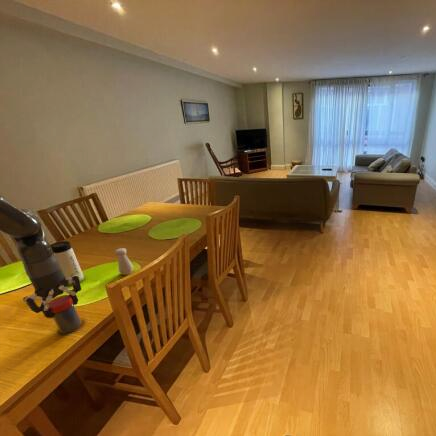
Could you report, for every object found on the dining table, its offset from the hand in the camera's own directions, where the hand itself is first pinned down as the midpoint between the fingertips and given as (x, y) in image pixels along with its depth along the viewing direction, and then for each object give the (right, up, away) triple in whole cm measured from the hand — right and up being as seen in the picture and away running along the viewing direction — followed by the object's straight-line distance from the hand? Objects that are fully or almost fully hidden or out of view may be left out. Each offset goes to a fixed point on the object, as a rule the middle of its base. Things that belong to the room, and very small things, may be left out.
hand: (63, 310), depth 83 cm
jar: (0, -7, +3) cm, 8 cm away
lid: (0, +3, -1) cm, 3 cm away
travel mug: (-21, +3, +28) cm, 35 cm away
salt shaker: (-1, +5, +34) cm, 34 cm away
